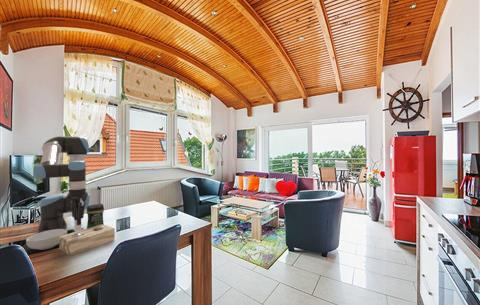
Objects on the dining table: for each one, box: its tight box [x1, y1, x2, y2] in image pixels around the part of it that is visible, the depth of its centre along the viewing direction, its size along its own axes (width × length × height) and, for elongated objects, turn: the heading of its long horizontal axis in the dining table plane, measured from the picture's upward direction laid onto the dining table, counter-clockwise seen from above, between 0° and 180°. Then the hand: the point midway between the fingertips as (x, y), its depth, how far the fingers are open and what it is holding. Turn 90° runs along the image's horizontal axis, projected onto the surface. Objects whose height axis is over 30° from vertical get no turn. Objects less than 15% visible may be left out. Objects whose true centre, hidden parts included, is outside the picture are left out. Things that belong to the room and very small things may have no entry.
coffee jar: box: [86, 203, 105, 229], centre depth 137 cm, size 10×8×19 cm
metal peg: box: [73, 233, 83, 238], centre depth 115 cm, size 4×4×7 cm
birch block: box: [58, 224, 116, 256], centre depth 119 cm, size 14×22×7 cm, turn 150°
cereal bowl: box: [25, 228, 68, 251], centre depth 116 cm, size 17×17×7 cm
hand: (77, 230), depth 115 cm, fingers closed
